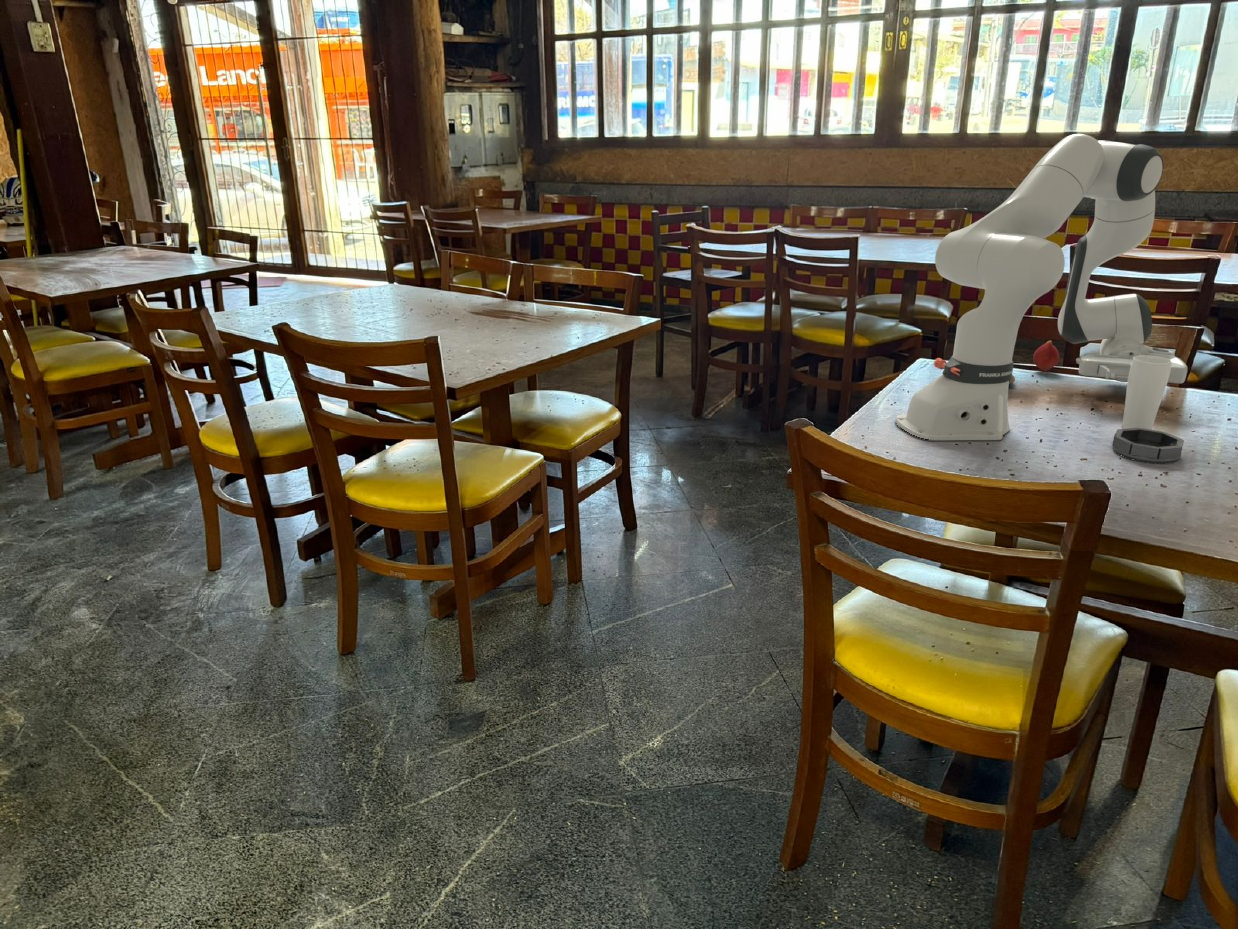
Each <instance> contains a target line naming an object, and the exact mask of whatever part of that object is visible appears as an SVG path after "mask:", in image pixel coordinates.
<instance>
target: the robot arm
mask: <svg viewBox="0 0 1238 929" xmlns="http://www.w3.org/2000/svg"><path fill="white" fill-rule="evenodd" d="M1164 167H1165V166H1164V159H1163V156H1162V154H1161V152H1160V151H1159V150H1158V149H1157V148H1155V147H1153V146H1150V145H1146V144H1142V143H1139V144H1134V143H1133V144H1132V143H1126V142H1120V141H1111V140H1098V139H1096V138H1095V137H1094V136H1091V135H1090V134H1089V135H1088V134H1084V133H1073V134H1069V135H1068V136H1065V137H1063V138H1062V139H1061V140H1060V141H1059V142H1057V143H1056V144H1055V145H1054V146H1053V147H1051V149H1050V150H1048V152H1046V154H1044V155H1043V156H1042V157H1041V159H1040V160H1039V161H1038V162H1037V163H1036V164H1035V165H1034V167H1033V168H1032V169H1031V170H1030V172H1029V173H1028V174H1027V176H1026V177H1025V178H1024V179H1023V181H1021V183H1020V184H1019V185H1018V186H1017V187H1016V188H1015V190H1013V193H1011V195H1010V196H1009V197H1008V198H1007V199H1006V200H1004V202H1002V203H1001V204H1000V205H999V206H997V207H996V208H994V210H991V212H989V213H988V214H986V215H984V217H981V218H980V219H979V220H977V221H975V222H973V223H972V224H970V225H968V226H964V227H963V228H961V229H958V230H954V231H951V232H949V233H948V234H946V235H945V236H944V237H943V238H942V239H941V240H940V242H939V244H938V246H937V248H936V252H935V256H934V258H935V259H934V263H935V268H936V271H937V273H938V274H939V275H940V276H941V277H942V278H944V279H946V280H948V281H950V282H952V283H955V284H957V285H960V286H964V287H969V288H970V287H971V288H976V289H982V290H984V295H983V298H982V300H981V302H980V304H979V305H978V307H975V308H973V309H971V310H968V311H967V312H965V313H964V314H963V315H962V316H961V317H960V318H959V320H958V321H957V324H956V332H955V333H956V334H955V339H954V346H953V354H952V356H951V355H950V358H949V360H948V361H947V360H944V359H942V358H940V357H937V358H935V360H933V366H934V368H937V369H939V370H942V374H941V375H939V376H938V377H937V378H935V379H934V380H933V381H932V382H929V383H928V384H927V385H925V386H924V387H923V388H921V389H920V390H918V391H916V392H915V393H914V394H913V395H912V397H911V398H910V401H909V404H908V409H907V412H906V413H903V414H898V415H896V417H895V420H894V422H895V421H896V423H897V424H896V423H895V424H896V426H897V425H899V426H900V427H901V428H903V429H904V430H905V431H908V432H909V433H910V434H909V433H908V434H909V435H911V434H912V435H911V436H913V435H916V436H917V437H916V436H915V437H916V438H918V437H920V438H919V439H921V438H925V439H929V440H928V441H1000V440H1002V439H1003V437H1004V436H1003V435H1005V434H1007V433H1008V432H1009V431H1010V423H1009V412H1008V411H1009V409H1008V405H1009V404H1008V400H1009V399H1008V398H1009V385H1010V384H1011V383H1010V381H1011V378H1012V375H1013V371H1014V360H1013V356H1014V351H1015V345H1016V342H1017V338H1016V336H1017V337H1018V331H1019V328H1020V324H1021V322H1022V320H1023V317H1024V316H1025V314H1026V313H1027V311H1028V309H1029V308H1030V307H1031V306H1032V304H1033V303H1035V301H1036V300H1038V299H1039V298H1040V297H1042V296H1044V295H1045V294H1048V293H1049V292H1051V290H1053V289H1054V288H1055V287H1056V286H1057V284H1058V283H1059V282H1060V280H1061V279H1062V276H1063V274H1064V271H1065V264H1066V262H1065V259H1066V258H1065V254H1064V252H1063V249H1062V248H1061V246H1060V245H1059V244H1057V243H1056V242H1054V241H1050V240H1048V239H1046V238H1047V237H1050V236H1051V235H1053V234H1054V233H1056V232H1057V231H1059V229H1060V228H1061V227H1062V226H1063V224H1064V223H1065V222H1066V221H1067V219H1068V218H1069V217H1070V215H1071V214H1072V213H1073V212H1074V210H1075V209H1076V208H1077V206H1078V205H1079V204H1080V202H1081V201H1082V200H1083V199H1084V198H1089V199H1092V200H1095V205H1094V220H1093V222H1092V225H1091V227H1090V229H1089V231H1087V233H1086V234H1085V235H1083V236H1082V237H1080V238H1079V240H1078V241H1077V243H1076V246H1075V249H1074V252H1073V256H1072V262H1071V264H1070V269H1069V272H1068V273H1069V274H1068V279H1067V284H1066V289H1065V294H1064V297H1063V300H1062V301H1063V302H1062V306H1061V309H1060V311H1059V314H1058V317H1057V329H1058V332H1059V336H1060V337H1061V338H1063V339H1064V341H1067V342H1069V343H1071V344H1072V345H1077V344H1081V343H1087V342H1089V341H1099V340H1101V343H1100V345H1099V346H1100V347H1099V353H1083V354H1082V356H1081V357H1077V358H1076V359H1075V361H1076V362H1075V363H1076V364H1078V365H1079V367H1078V374H1079V375H1082V376H1084V377H1095V378H1097V377H1098V378H1105V380H1106V379H1107V380H1115V381H1116V382H1119V383H1120V382H1121V383H1127V382H1128V375H1129V370H1130V366H1131V363H1132V359H1133V357H1134V356H1139V355H1150V356H1158V357H1163V358H1167V359H1169V360H1171V361H1172V364H1171V370H1170V375H1169V379H1168V382H1167V383H1171V384H1183V383H1184V382H1185V381H1186V378H1187V374H1188V366H1187V364H1186V363H1185V362H1184V361H1183V360H1182V359H1181V358H1179V357H1177V356H1175V351H1173V350H1169V349H1163V348H1157V347H1153V346H1150V345H1146V344H1145V343H1146V342H1147V341H1148V339H1149V338H1150V336H1151V334H1152V330H1153V316H1152V312H1151V311H1152V310H1151V308H1150V304H1149V303H1148V301H1146V299H1145V298H1143V296H1141V295H1140V294H1138V293H1127V294H1120V295H1112V296H1106V297H1098V298H1097V297H1096V298H1090V299H1089V298H1086V295H1087V291H1088V287H1089V282H1090V278H1091V275H1092V273H1093V272H1094V271H1095V270H1096V269H1097V268H1099V266H1101V265H1103V264H1104V263H1106V262H1108V261H1110V260H1112V259H1114V258H1116V257H1119V256H1121V255H1124V254H1126V253H1128V252H1129V253H1130V251H1133V250H1134V249H1136V248H1137V247H1138V246H1140V245H1141V244H1142V243H1144V241H1145V240H1146V239H1147V238H1148V237H1149V235H1150V234H1151V232H1152V230H1153V226H1154V222H1155V213H1156V189H1157V187H1158V186H1159V184H1160V181H1161V180H1162V176H1163V174H1164V169H1165V168H1164ZM1015 341H1016V342H1015ZM899 426H898V427H899ZM900 427H899V428H900ZM901 428H900V429H901ZM904 430H903V431H904ZM925 439H924V440H925ZM930 439H931V440H930Z"/></svg>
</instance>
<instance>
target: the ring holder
mask: <svg viewBox="0 0 1238 929" xmlns="http://www.w3.org/2000/svg"><path fill="white" fill-rule="evenodd" d="M1184 443H1185V440H1184V439H1183V438H1181V437H1178V436H1175V435H1174V434H1171V433H1169V432H1165V431H1160V430H1154V429H1152V430H1149V429H1143V428H1129V429H1122V428H1120V429H1119V428H1118V429H1116V431H1115V433H1114V435H1113V440H1112V443H1111V444H1112V445H1111V446H1112V448H1111V449H1113V450H1112V451H1113V452H1114V453H1115V452H1116V453H1117V454H1116V453H1115V454H1116V455H1118V454H1119V455H1118V456H1120V455H1122V456H1124V457H1123V458H1125V457H1126V458H1125V459H1127V460H1128V459H1129V460H1131V459H1134V460H1133V461H1135V460H1136V462H1140V463H1146V462H1149V463H1148V464H1155V463H1157V464H1158V465H1163V464H1166V463H1167V464H1173V463H1174V464H1175V463H1177V462H1178V461H1179V460H1180V459H1181V455H1182V451H1183V448H1184ZM1122 456H1121V457H1122ZM1159 463H1160V464H1159Z"/></svg>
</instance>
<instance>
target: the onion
mask: <svg viewBox="0 0 1238 929" xmlns="http://www.w3.org/2000/svg"><path fill="white" fill-rule="evenodd" d="M1032 360H1033V363H1034V365H1035V366H1036V367H1037V368H1038V369H1039V370H1040V371H1041V372H1043V371H1045V372H1048V371H1050V370H1051V369H1052V368H1054V367H1055V366H1056V365H1058V363H1059V361H1060V353H1059V350H1058V349H1057V348H1056V346H1055V345H1053V341H1052V340H1047V341H1046V342H1045V343H1044V344H1042V345H1041V346H1039V347H1038V348H1037V349H1036V350H1035V351H1034V353H1033V358H1032Z"/></svg>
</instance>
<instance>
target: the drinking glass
mask: <svg viewBox="0 0 1238 929" xmlns="http://www.w3.org/2000/svg"><path fill="white" fill-rule="evenodd" d="M1171 364H1172V361H1171V360H1169V359H1167V358H1163V357H1158V356H1150V355H1139V356H1134V357H1133V359H1132V363H1131V366H1130V370H1129V375H1128V382H1126V393H1125V401H1124V409H1123V416H1122V421H1121V429H1129V428H1143V429H1149V430H1153V428H1154V424H1155V421H1156V417H1157V414H1158V412H1159V409H1160V405H1161V402H1162V400H1163V397H1164V394H1165V391H1166V388H1167V385H1168V383H1169V382H1168V379H1169V375H1170V370H1171Z"/></svg>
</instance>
